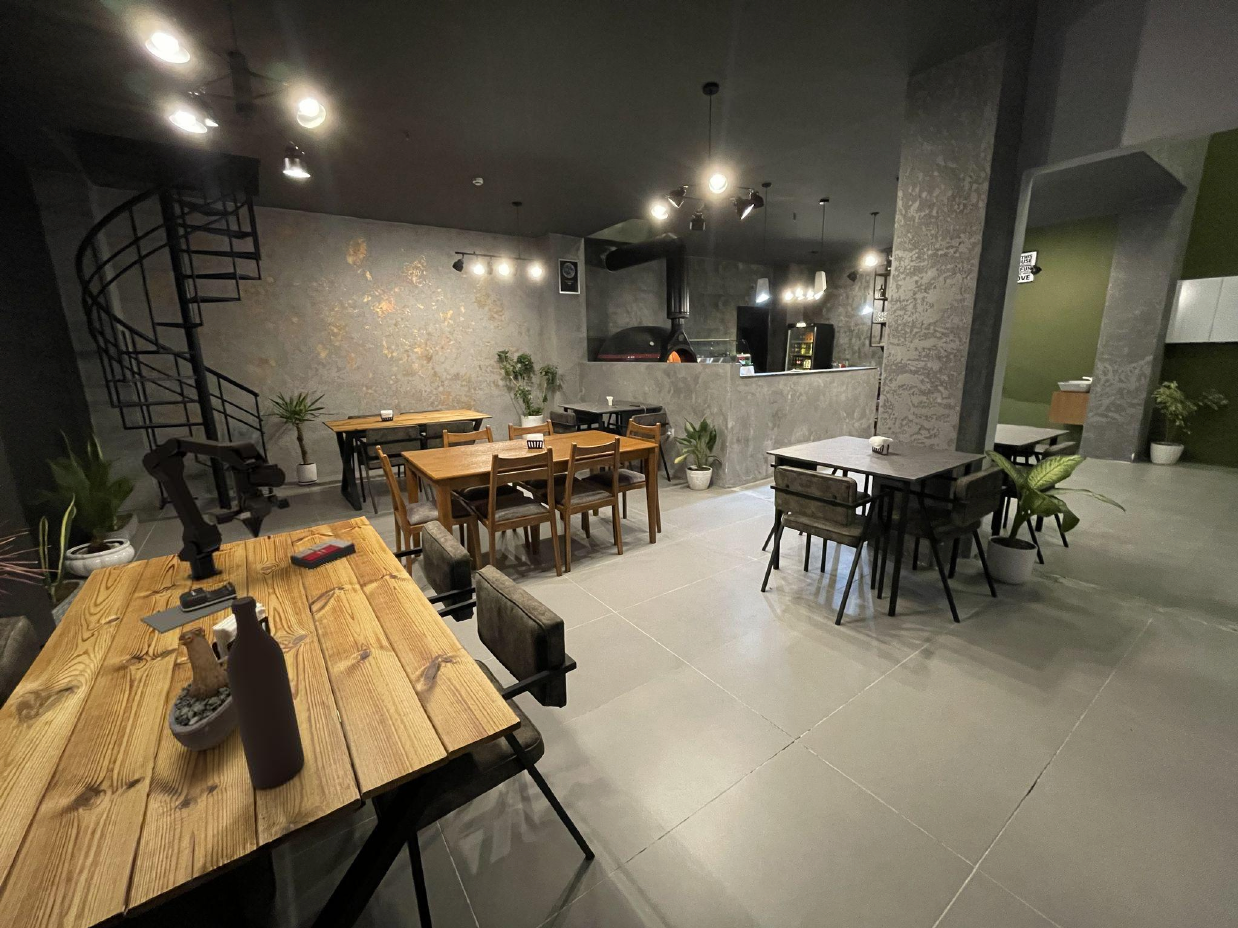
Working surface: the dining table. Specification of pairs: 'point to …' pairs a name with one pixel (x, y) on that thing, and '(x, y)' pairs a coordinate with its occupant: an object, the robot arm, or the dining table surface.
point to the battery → (206, 597)
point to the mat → (181, 616)
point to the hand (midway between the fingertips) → (255, 537)
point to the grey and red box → (322, 553)
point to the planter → (203, 697)
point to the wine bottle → (263, 701)
